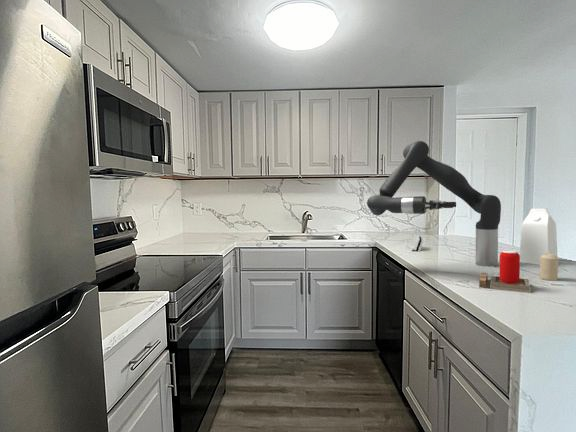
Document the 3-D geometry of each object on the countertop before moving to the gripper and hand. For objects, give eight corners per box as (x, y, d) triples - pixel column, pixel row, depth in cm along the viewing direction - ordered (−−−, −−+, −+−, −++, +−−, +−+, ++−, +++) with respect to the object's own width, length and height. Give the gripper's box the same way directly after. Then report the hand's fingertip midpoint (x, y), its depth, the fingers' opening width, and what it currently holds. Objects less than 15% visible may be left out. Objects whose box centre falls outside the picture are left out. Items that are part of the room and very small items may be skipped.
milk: (557, 262, 164) (558, 208, 162) (548, 265, 157) (549, 209, 155) (529, 259, 173) (529, 207, 172) (518, 262, 167) (519, 209, 165)
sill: (481, 278, 137) (481, 272, 137) (487, 279, 136) (487, 273, 136) (479, 287, 125) (479, 280, 125) (485, 288, 124) (485, 281, 124)
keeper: (491, 281, 134) (491, 275, 134) (528, 284, 127) (528, 278, 127) (490, 288, 124) (490, 282, 123) (530, 292, 117) (530, 286, 117)
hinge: (406, 247, 222) (412, 232, 220) (414, 249, 221) (419, 235, 220) (411, 251, 205) (417, 235, 204) (419, 254, 204) (425, 238, 203)
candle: (540, 276, 138) (540, 252, 138) (557, 278, 135) (558, 253, 134) (539, 279, 134) (539, 254, 133) (557, 281, 131) (557, 255, 130)
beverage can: (500, 280, 130) (500, 249, 129) (519, 282, 126) (520, 250, 125) (498, 284, 125) (499, 252, 124) (519, 286, 121) (519, 253, 120)
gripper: (409, 196, 142) (452, 195, 133) (417, 196, 154) (456, 195, 145) (409, 214, 143) (452, 215, 134) (417, 212, 155) (456, 212, 146)
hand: (454, 204), depth 140 cm, fingers open, 8 cm apart
